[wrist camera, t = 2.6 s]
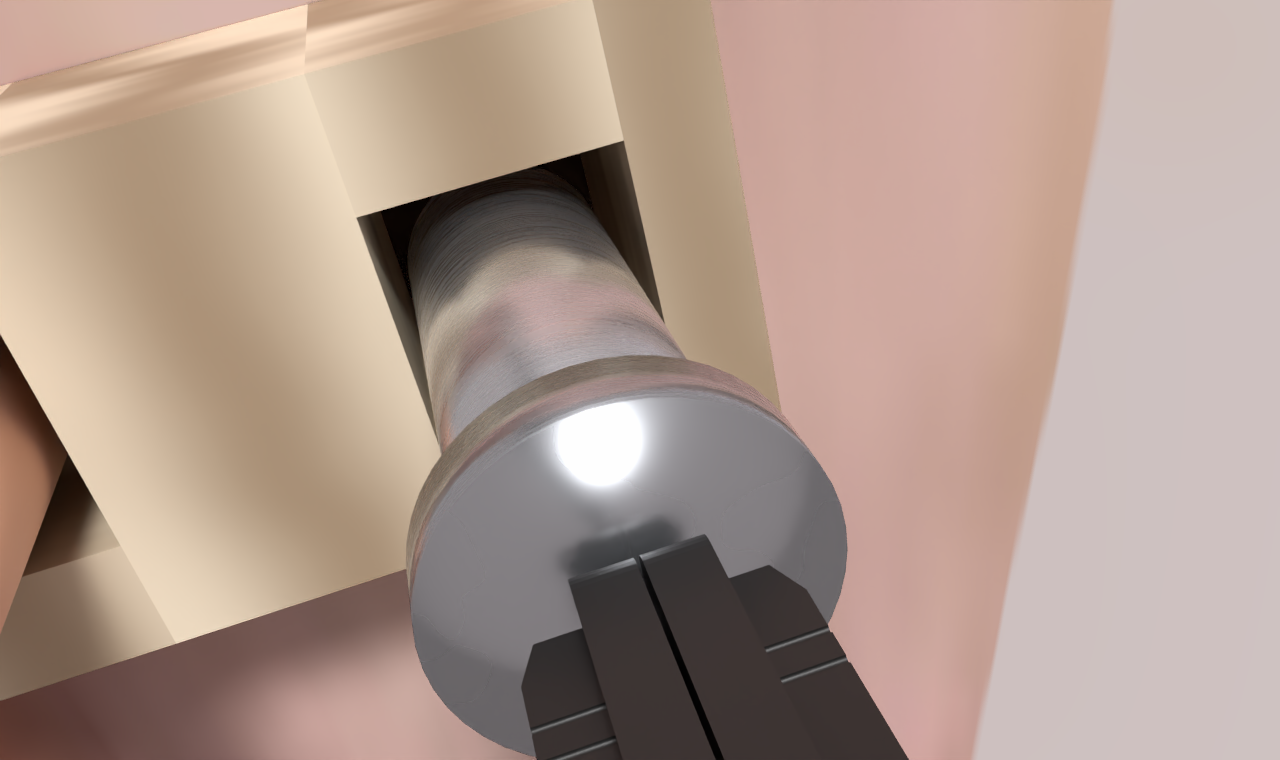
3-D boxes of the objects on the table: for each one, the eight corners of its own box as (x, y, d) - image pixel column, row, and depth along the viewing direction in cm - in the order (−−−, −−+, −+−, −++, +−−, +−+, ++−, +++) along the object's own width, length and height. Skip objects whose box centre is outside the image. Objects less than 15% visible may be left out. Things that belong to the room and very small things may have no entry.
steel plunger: (420, 406, 22) (485, 815, 13) (334, 173, 19) (346, 487, 11) (657, 333, 22) (868, 681, 14) (603, 96, 20) (818, 339, 11)
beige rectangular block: (-75, 556, 25) (-177, 758, 20) (-335, 175, 20) (-557, 309, 15) (697, 317, 27) (786, 445, 22) (616, -79, 22) (703, -36, 17)
